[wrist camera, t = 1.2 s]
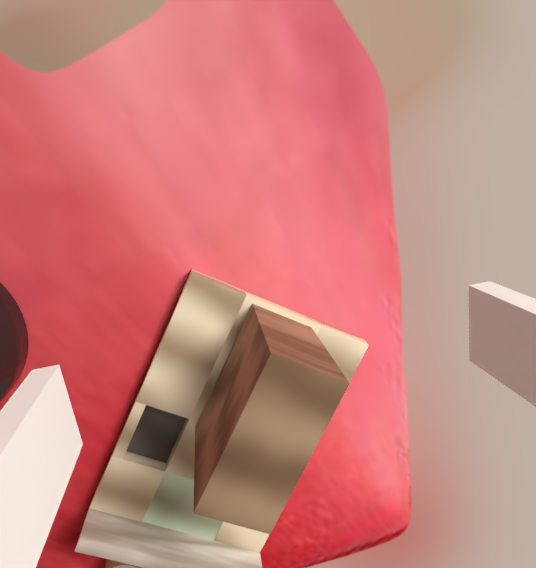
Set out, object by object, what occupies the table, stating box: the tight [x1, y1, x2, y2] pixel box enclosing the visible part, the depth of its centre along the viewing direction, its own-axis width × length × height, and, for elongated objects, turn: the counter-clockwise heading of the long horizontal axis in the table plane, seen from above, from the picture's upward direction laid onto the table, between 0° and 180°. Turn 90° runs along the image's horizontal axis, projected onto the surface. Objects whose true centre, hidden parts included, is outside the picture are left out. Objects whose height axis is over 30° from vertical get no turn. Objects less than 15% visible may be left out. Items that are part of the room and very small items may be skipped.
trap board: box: [75, 269, 369, 568], centre depth 41 cm, size 26×18×6 cm
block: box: [193, 304, 349, 534], centre depth 36 cm, size 13×6×11 cm, turn 155°
